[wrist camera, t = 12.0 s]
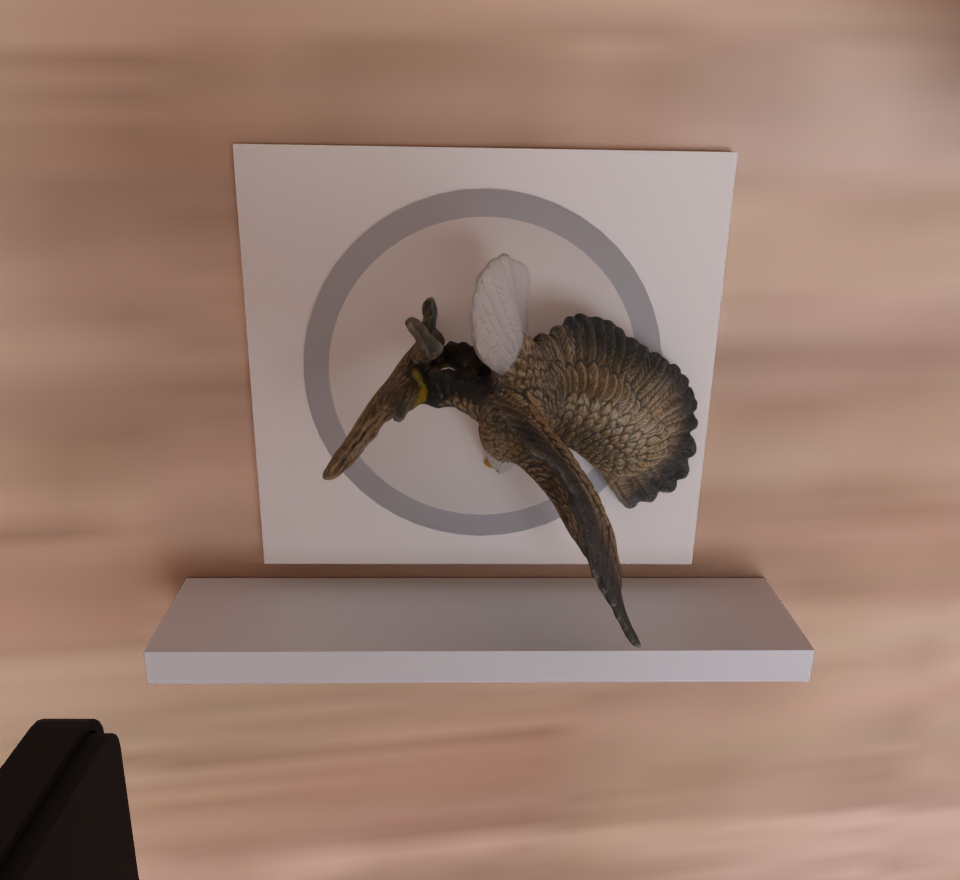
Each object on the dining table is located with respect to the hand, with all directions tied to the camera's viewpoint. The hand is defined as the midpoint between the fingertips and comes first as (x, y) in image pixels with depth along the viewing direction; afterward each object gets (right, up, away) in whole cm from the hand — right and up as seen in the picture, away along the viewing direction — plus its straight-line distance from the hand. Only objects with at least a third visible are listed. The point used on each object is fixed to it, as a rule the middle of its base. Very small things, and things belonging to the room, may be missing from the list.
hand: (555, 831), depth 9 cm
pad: (-1, +6, +16) cm, 17 cm away
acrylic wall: (-1, -1, +18) cm, 18 cm away
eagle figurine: (+1, +5, +16) cm, 16 cm away
